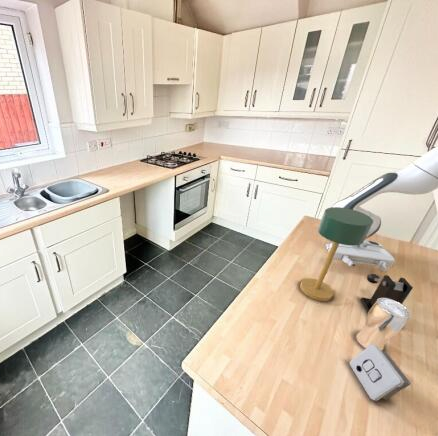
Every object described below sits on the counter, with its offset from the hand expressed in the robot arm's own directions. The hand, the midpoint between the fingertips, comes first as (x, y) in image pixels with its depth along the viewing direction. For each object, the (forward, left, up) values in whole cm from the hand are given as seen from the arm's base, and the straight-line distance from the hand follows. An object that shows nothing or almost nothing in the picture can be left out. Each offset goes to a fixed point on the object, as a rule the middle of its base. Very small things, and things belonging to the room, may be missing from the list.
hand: (368, 267), depth 89 cm
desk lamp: (+5, +19, -7) cm, 21 cm away
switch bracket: (-10, +10, -7) cm, 16 cm away
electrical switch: (-21, +37, -8) cm, 43 cm away
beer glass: (-15, +25, -8) cm, 30 cm away
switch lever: (-8, +7, 0) cm, 10 cm away
